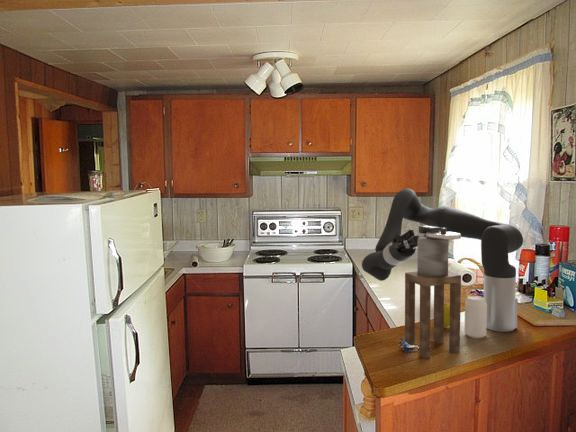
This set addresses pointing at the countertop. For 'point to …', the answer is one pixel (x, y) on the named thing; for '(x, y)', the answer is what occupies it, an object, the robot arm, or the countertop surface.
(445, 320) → the lemon
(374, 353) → the countertop surface
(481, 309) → the beverage can
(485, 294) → the robot arm
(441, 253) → the stand
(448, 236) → the cooker lid
